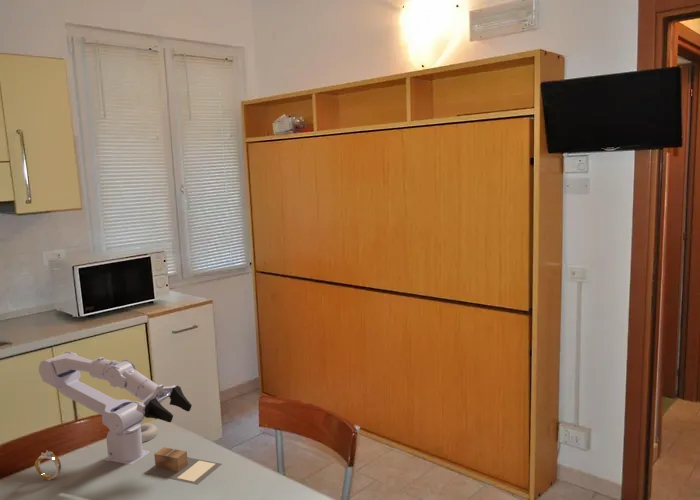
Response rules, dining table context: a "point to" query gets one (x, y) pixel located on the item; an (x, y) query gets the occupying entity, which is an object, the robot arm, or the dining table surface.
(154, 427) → the donut
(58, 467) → the ring
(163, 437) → the dining table surface
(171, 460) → the brown rectangular block
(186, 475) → the mat
